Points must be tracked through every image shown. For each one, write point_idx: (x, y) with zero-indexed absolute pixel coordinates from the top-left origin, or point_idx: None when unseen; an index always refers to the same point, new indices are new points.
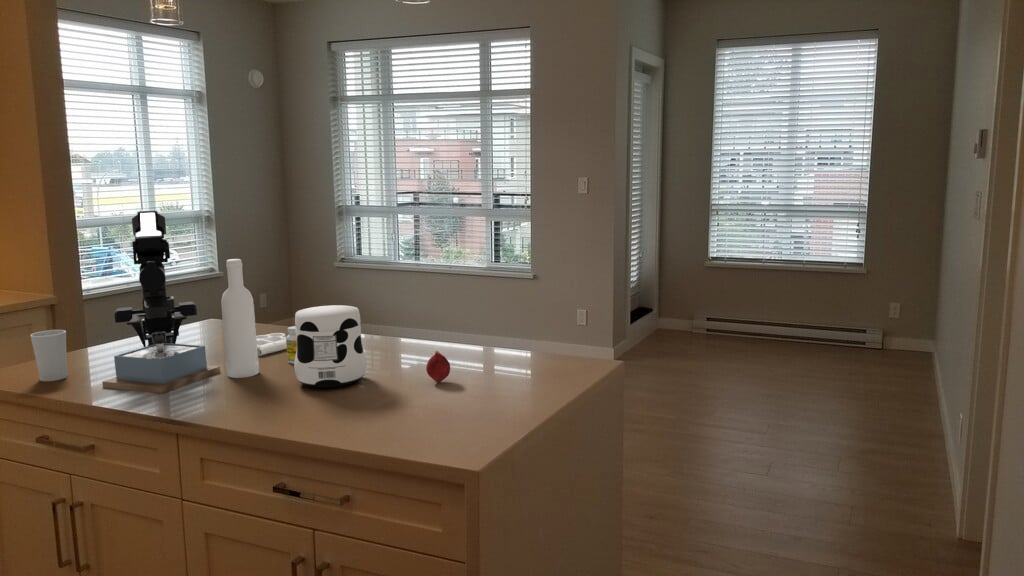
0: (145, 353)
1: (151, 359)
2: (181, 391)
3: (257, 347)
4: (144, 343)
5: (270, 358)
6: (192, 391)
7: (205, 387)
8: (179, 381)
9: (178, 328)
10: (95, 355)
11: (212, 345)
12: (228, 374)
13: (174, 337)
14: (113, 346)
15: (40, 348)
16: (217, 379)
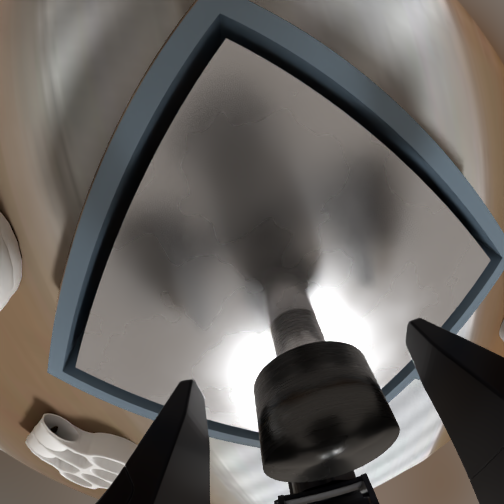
0: (388, 295)
1: (309, 36)
2: (128, 18)
3: (53, 434)
4: (428, 332)
5: (18, 387)
6: (84, 18)
7: (44, 73)
8: (140, 81)
9: (109, 489)
10: (428, 440)
11: (218, 488)
12: (3, 223)
13: (174, 419)
14: (395, 471)
15: None
16: (31, 192)
